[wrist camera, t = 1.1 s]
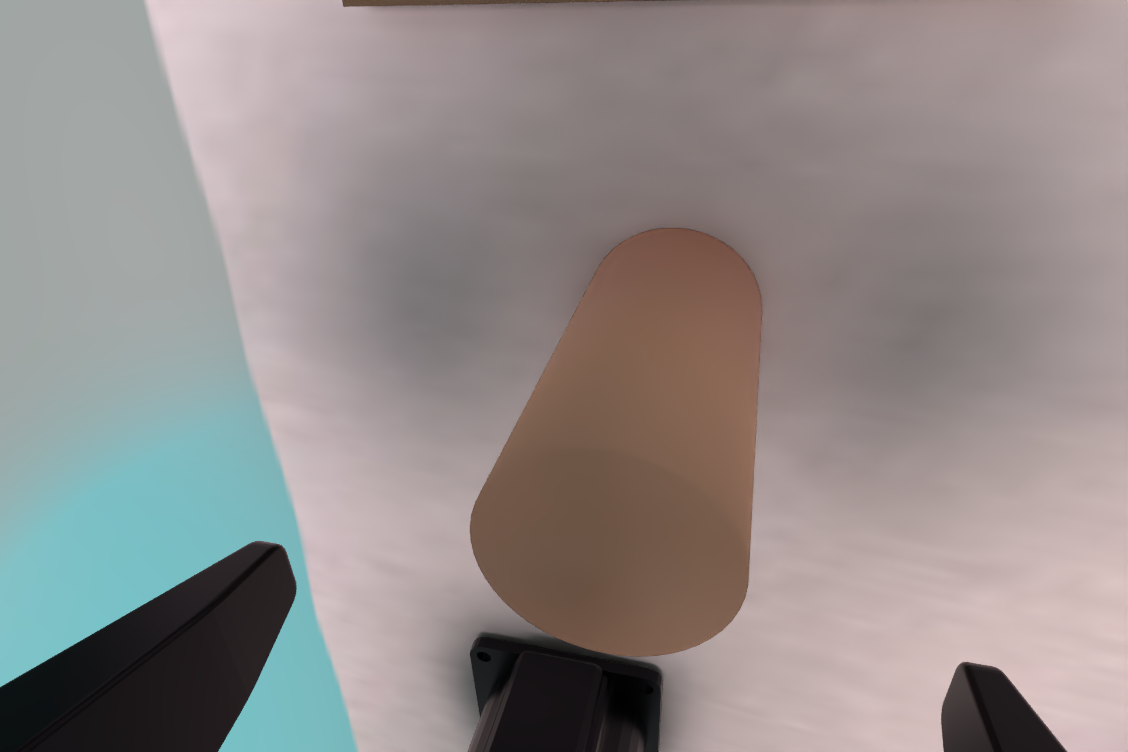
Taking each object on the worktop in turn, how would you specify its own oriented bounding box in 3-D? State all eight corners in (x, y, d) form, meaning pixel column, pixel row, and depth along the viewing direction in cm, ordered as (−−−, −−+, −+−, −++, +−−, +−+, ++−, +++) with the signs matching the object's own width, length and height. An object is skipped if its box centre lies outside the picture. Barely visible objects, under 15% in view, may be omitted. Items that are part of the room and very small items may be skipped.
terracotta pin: (752, 391, 17) (734, 678, 11) (590, 375, 18) (483, 630, 12) (771, 232, 15) (764, 468, 9) (586, 223, 16) (454, 430, 10)
